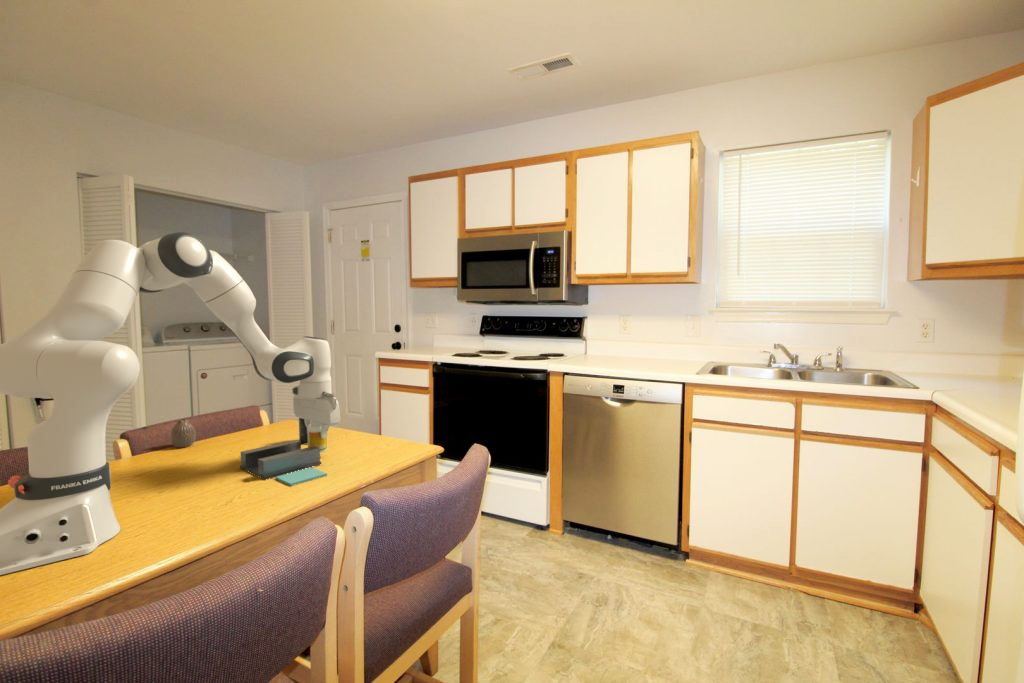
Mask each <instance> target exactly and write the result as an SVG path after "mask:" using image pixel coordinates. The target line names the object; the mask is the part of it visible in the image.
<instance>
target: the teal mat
mask: <svg viewBox="0 0 1024 683" xmlns="http://www.w3.org/2000/svg"><path fill="white" fill-rule="evenodd" d="M326 475H327V476H328V473H327V472H324V471H323V470H319V469H316V468H314V467H310V468H307V469H303V470H299V471H296V472H292V473H288V474H284V475H281V476H277V477H275V480H276V479H277V481H279V482H280V483H283V484H285V483H286V485H287V484H288V486H290V487H293V486H296V485H299V484H298V483H300V484H303V483H306V481H307V482H309V480H310V481H313V479H314V480H317V479H320V478H323V476H324V477H327V476H326ZM319 477H320V478H319ZM316 478H317V479H316ZM302 482H303V483H302ZM295 484H296V485H295ZM292 485H293V486H292Z"/></svg>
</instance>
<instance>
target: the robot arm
mask: <svg viewBox="0 0 1024 683" xmlns="http://www.w3.org/2000/svg"><path fill="white" fill-rule="evenodd" d="M181 284H185V285H186V286H188V287H190V288H191V289H193V291H194V292H195V293H196V295H197V296H198V297H199V298H200V300H201V301H202V302H203V303H204V304H205V305H206V307H207V308H208V309H209V310H210V312H212V313H213V315H215V317H217V318H218V319H219V320H220V321H222V323H224V324H225V325H226V326H227V327H228V328H229V329H230V330H231V332H232V333H233V334H234V335H235V337H236V338H237V339H238V341H239V342H240V343H241V345H243V347H244V348H245V350H246V351H247V352H248V353H249V356H250V357H251V360H252V364H253V369H254V370H255V372H256V374H257V375H258V376H259V377H260V378H262V379H264V380H267V381H275V382H279V383H281V384H282V383H283V384H291V383H295V382H299V384H298V385H296V386H292V388H291V394H292V395H293V398H292V399H293V400H292V407H293V413H294V416H295V418H298V419H299V418H302V419H304V422H305V425H306V428H307V429H308V427H310V426H311V425H310V420H312V421H314V422H317V423H320V425H321V427H322V428H321V432H319V437H320V438H326V437H327V438H328V431H329V428H330V427H333V426H336V425H337V426H338V425H339V424H340V422H341V412H340V405H339V401H338V400H337V398H336V396H335V394H334V393H332V392H333V391H332V388H333V387H332V386H333V385H332V382H333V381H332V376H331V367H332V356H331V355H332V354H331V346H330V343H329V342H328V340H327V339H325V338H322V337H316V336H302V337H301V338H300V339H299V340H297V341H296V342H295V343H293V344H291V345H289V346H286V347H284V348H281V347H278V346H277V345H275V344H273V343H272V342H271V341H270V339H268V337H267V335H266V334H265V333H264V332H263V331H262V329H261V327H260V326H259V325H258V324H257V322H256V320H255V317H254V312H255V309H256V307H257V299H256V297H255V296H254V293H253V292H252V290H251V288H250V286H249V285H248V284H247V282H246V281H245V280H244V279H243V277H242V276H241V275H240V274H239V273H238V271H237V270H236V269H235V268H234V267H233V265H232V264H230V263H229V262H228V261H227V259H225V258H224V257H223V256H222V255H221V254H220V253H218V252H217V251H215V250H212V249H209V248H208V246H207V245H206V244H205V243H204V242H203V241H202V240H201V239H200V238H198V237H197V236H195V235H194V234H192V233H188V232H184V231H178V232H171V233H167V234H165V235H163V236H162V237H159V238H156V239H153V240H150V241H147V242H145V243H144V244H141V245H140V246H138V247H136V246H135V245H133V244H132V243H129V242H127V241H125V240H120V239H104V240H102V241H99V242H97V244H95V246H93V247H92V248H91V249H90V250H89V251H88V253H87V254H86V255H85V256H84V257H83V259H82V260H81V261H80V263H79V264H78V266H77V267H76V268H75V269H74V272H73V273H72V275H71V277H70V279H69V281H68V282H67V284H66V286H65V287H64V289H63V291H62V293H61V294H60V296H59V297H58V299H57V300H56V302H55V304H54V305H52V307H51V308H50V309H49V310H48V311H47V312H46V313H45V314H44V315H43V316H41V318H39V319H38V320H37V321H36V322H35V323H33V324H32V325H31V326H30V327H28V328H27V329H26V330H25V331H23V332H21V333H20V334H19V335H17V336H16V337H14V338H11V339H10V340H8V341H5V342H4V343H1V344H0V394H2V395H7V396H11V397H16V398H17V397H18V398H24V399H27V398H28V399H35V398H36V399H39V398H41V399H48V398H49V399H53V406H52V409H51V413H50V414H49V416H48V418H47V419H45V420H43V421H42V422H40V423H38V424H36V425H35V426H34V427H33V428H31V429H30V431H29V432H28V435H27V438H26V444H27V445H26V446H27V455H28V456H27V457H28V473H27V474H26V475H25V476H24V477H22V476H21V475H12V476H11V477H10V478H9V479H8V480H7V483H8V485H9V487H10V488H13V490H14V496H15V497H14V498H13V499H12V500H10V501H9V502H8V503H7V504H5V505H4V506H3V507H0V576H3V575H6V574H7V575H8V574H10V573H15V572H19V571H22V570H26V569H30V568H34V567H39V566H43V565H48V564H52V563H57V562H60V561H63V560H67V559H73V558H75V557H79V556H80V557H81V556H83V555H89V554H90V553H91V552H93V551H95V550H96V549H97V548H98V546H99V545H101V544H103V543H105V542H107V541H109V540H110V539H112V538H114V537H115V536H116V535H118V533H120V531H121V525H120V523H119V522H118V520H117V519H118V518H117V517H116V514H115V511H114V507H113V504H112V499H111V494H110V490H111V485H112V478H111V477H112V474H111V467H110V464H109V462H107V453H106V452H107V450H106V448H107V447H106V444H107V443H106V442H107V441H106V438H107V436H106V435H107V432H106V430H107V423H108V421H109V420H108V419H109V416H110V414H111V412H112V410H113V408H114V405H115V404H116V403H117V401H118V400H119V399H120V398H121V397H122V396H123V395H124V394H126V393H127V392H129V391H130V390H131V389H132V388H133V387H134V386H135V385H136V383H137V381H138V379H139V376H140V372H141V364H140V360H139V358H138V355H137V354H136V353H135V352H134V350H133V349H132V348H131V347H129V346H127V345H124V344H119V343H114V342H111V341H104V340H103V338H106V337H108V336H111V335H113V334H115V333H117V332H118V331H119V330H120V329H121V328H122V327H123V326H124V324H125V322H126V320H127V318H128V316H129V314H130V311H131V309H132V307H133V305H134V303H135V302H136V301H135V300H136V299H137V296H138V294H139V293H144V294H152V293H153V294H155V293H158V292H162V291H164V290H167V289H169V288H172V287H176V286H177V287H178V286H179V285H181Z"/></svg>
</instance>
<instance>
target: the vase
mask: <svg viewBox="0 0 1024 683" xmlns="http://www.w3.org/2000/svg"><path fill="white" fill-rule="evenodd" d="M196 437H197V432H196V429H195V427H194V426H193V424H191V423H190V422H189V420H188V419H187V418H180V419H178V420H177V422H176V424H174V426H173V427H172V429H171V431H170V435H169V439H170V442H171V444H172V446H174V447H175V448H178V449H182V448H183V449H185V448H188V447H191V446H192V445H193V444H194V443H195V441H196Z"/></svg>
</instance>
